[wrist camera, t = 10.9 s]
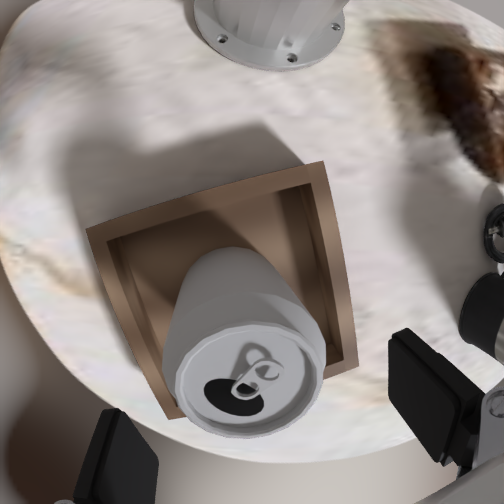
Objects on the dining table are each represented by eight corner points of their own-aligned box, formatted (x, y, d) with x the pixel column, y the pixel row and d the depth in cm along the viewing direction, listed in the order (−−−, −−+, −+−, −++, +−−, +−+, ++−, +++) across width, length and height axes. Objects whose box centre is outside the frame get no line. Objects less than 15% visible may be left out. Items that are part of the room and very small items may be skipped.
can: (163, 303, 22) (125, 405, 11) (220, 223, 22) (229, 266, 10) (241, 352, 24) (264, 467, 12) (300, 281, 23) (372, 363, 12)
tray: (105, 222, 22) (85, 229, 18) (305, 164, 23) (323, 160, 19) (172, 391, 25) (168, 419, 21) (341, 343, 26) (359, 366, 22)
